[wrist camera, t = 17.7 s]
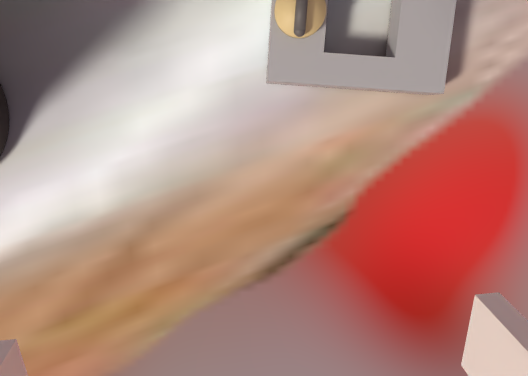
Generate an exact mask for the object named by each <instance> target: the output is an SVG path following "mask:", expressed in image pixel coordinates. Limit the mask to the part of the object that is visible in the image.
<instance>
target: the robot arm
mask: <svg viewBox="0 0 528 376" xmlns="http://www.w3.org/2000/svg"><path fill="white" fill-rule="evenodd" d="M8 129H9V113H8V106H7V102H6V98H5V95H4V92H3V89H2V87H1V85H0V155H1V153H2V151H3V149H4V146H5V143H6V140H7V136H8ZM461 366H462V367H463V368H464V370H465V371H466V373H467V374H468V375H469V376H528V320H527V319H526V318H525V317H524V316H523V315H522V314H520V312H519V311H518V310H517V309H515V308H514V307H513V306H512V305H511V304H510V303H509V302H508V301H507V300H506V299H505V298H504V297H503V296H502V295H501V294H500V293H489V294H479V295H475V298H474V303H473V308H472V313H471V318H470V323H469V328H468V333H467V339H466V343H465V348H464V354H463V358H462V363H461ZM0 376H28V375H27V372H26V368H25V365H24V362H23V359H22V356H21V353H20V349H19V346H18V343H17V340H16V339H13V340H3V341H0Z"/></svg>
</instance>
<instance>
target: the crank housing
mask: <svg viewBox="0 0 528 376" xmlns="http://www.w3.org/2000/svg"><path fill="white" fill-rule="evenodd" d="M456 1H457V0H392V3H391V12H390V21H389V30H388V39H387V48H386V57H381V56H367V55H354V54H340V53H326V52H324V42H325V31H326V20H327V8H328V0H272V6H271V21H270V36H269V51H268V66H267V81H266V83H270V84H284V85H298V86H312V87H326V88H340V89H354V90H368V91H382V92H396V93H411V94H425V95H434V94H444V89H445V81H446V74H447V67H448V60H449V52H450V45H451V38H452V30H453V23H454V16H455V8H456Z"/></svg>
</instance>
